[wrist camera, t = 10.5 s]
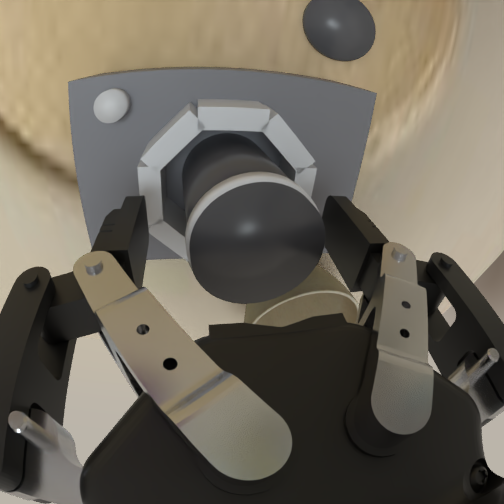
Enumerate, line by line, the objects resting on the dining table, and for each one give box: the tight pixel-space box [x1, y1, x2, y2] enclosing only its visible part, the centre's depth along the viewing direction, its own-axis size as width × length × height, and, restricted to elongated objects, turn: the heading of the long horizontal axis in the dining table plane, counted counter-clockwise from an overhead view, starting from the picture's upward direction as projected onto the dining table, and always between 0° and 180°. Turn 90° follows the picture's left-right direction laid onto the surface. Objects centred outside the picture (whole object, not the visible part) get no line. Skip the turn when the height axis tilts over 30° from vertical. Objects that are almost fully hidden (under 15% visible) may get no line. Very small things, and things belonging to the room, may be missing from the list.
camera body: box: [68, 67, 377, 262], centre depth 16 cm, size 16×11×8 cm
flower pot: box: [244, 265, 359, 327], centre depth 26 cm, size 10×10×7 cm
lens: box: [182, 133, 325, 304], centre depth 12 cm, size 5×5×7 cm
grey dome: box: [303, 0, 375, 61], centre depth 15 cm, size 6×6×1 cm
